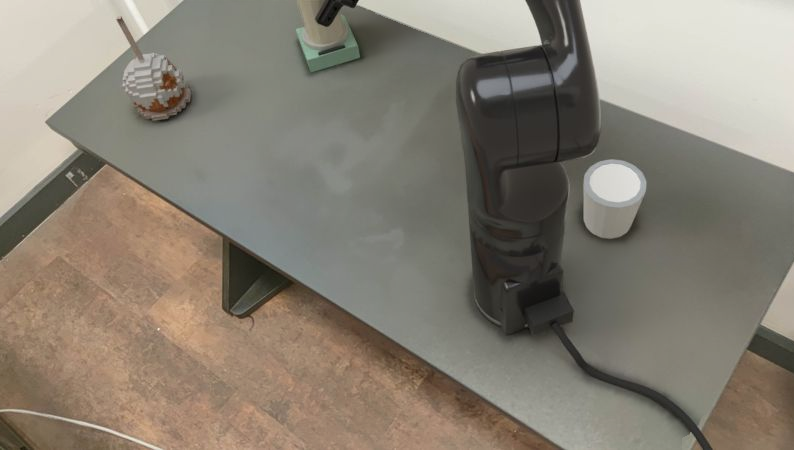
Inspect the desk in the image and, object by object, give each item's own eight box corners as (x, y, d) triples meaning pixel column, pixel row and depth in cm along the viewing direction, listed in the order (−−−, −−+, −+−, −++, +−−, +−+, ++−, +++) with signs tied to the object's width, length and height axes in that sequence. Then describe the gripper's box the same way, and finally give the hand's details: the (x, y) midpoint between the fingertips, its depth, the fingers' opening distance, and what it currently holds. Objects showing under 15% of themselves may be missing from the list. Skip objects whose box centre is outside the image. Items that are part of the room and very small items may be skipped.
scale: (360, 57, 103) (356, 40, 101) (310, 72, 102) (305, 55, 100) (347, 27, 108) (343, 10, 105) (299, 41, 107) (294, 24, 104)
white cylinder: (602, 187, 86) (609, 149, 80) (649, 217, 82) (659, 179, 77) (566, 220, 83) (570, 184, 77) (613, 253, 80) (621, 217, 74)
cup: (336, 46, 100) (324, -1, 94) (301, 42, 101) (287, -5, 95) (348, 22, 103) (337, -25, 97) (314, 18, 104) (302, -29, 98)
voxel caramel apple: (189, 118, 99) (145, 33, 87) (135, 126, 99) (82, 41, 87) (194, 80, 103) (152, -6, 91) (142, 88, 103) (93, 3, 91)
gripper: (323, -134, 92) (267, -27, 99) (371, -86, 85) (307, 26, 91) (365, -108, 98) (310, -9, 105) (414, -61, 90) (350, 43, 97)
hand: (309, 8), depth 98 cm, fingers open, 8 cm apart
